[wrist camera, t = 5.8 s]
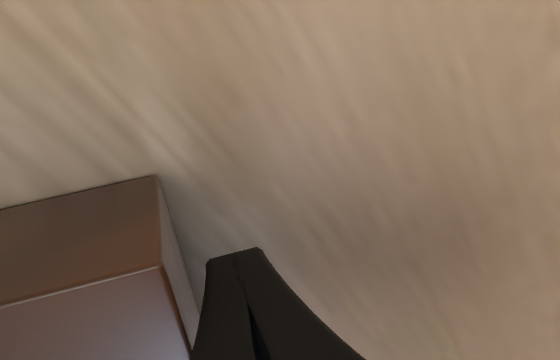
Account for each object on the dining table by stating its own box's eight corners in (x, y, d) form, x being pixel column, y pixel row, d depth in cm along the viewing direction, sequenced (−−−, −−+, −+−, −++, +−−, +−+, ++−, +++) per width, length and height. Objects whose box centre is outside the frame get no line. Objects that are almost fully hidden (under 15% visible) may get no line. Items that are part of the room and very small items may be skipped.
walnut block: (157, 172, 10) (162, 263, 7) (209, 346, 13) (225, 455, 10) (-160, 244, 9) (-281, 376, 6) (-27, 414, 12) (-73, 551, 9)
